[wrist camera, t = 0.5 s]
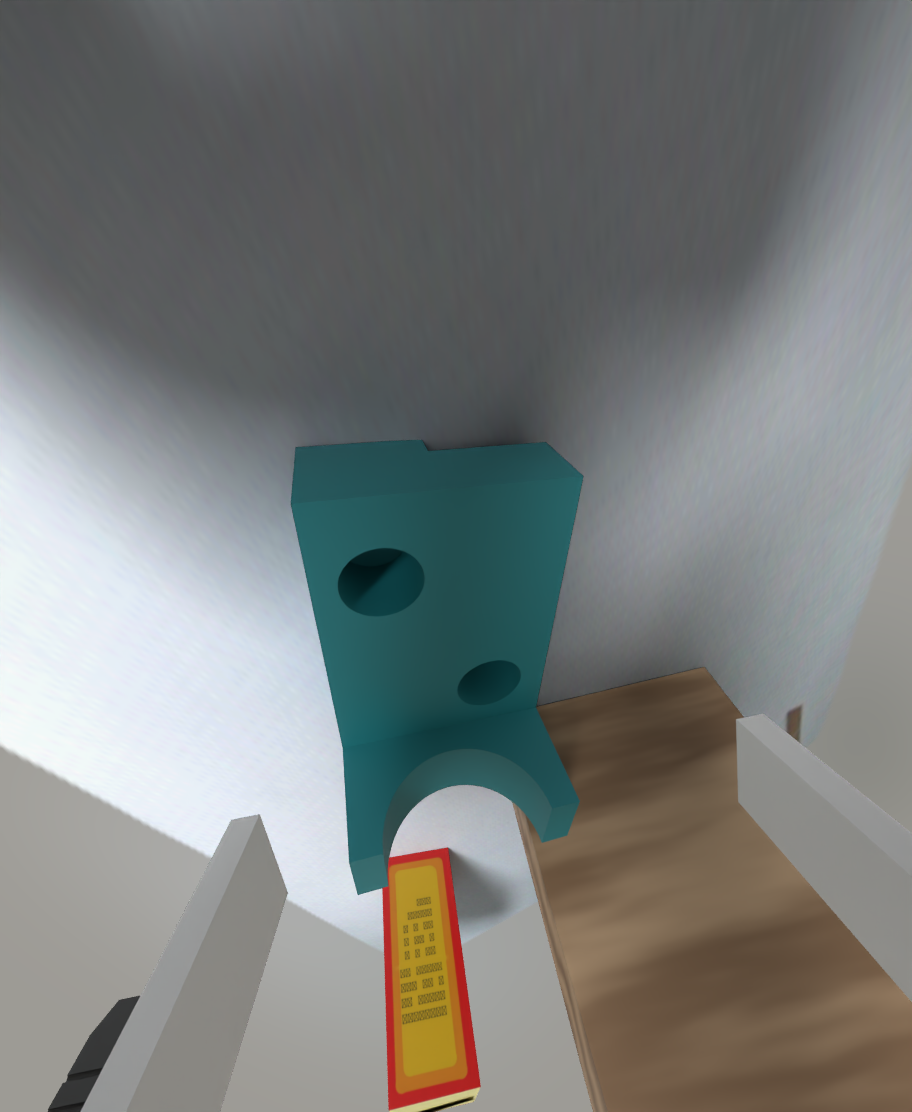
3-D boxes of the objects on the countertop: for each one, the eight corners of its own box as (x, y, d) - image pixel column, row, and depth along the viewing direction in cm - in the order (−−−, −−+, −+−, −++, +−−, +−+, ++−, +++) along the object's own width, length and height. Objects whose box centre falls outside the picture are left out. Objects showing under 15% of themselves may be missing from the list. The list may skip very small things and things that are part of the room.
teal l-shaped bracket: (501, 679, 32) (567, 835, 24) (345, 710, 29) (357, 894, 21) (533, 430, 21) (670, 554, 13) (295, 447, 19) (281, 610, 11)
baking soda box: (381, 858, 44) (389, 1118, 31) (447, 847, 45) (481, 1094, 32) (387, 895, 49) (395, 1129, 36) (446, 885, 50) (474, 1108, 37)
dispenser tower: (469, 714, 32) (773, 2093, 8) (719, 655, 33) (1643, 1749, 9) (489, 804, 41) (670, 1624, 17) (688, 754, 42) (1133, 1467, 18)
